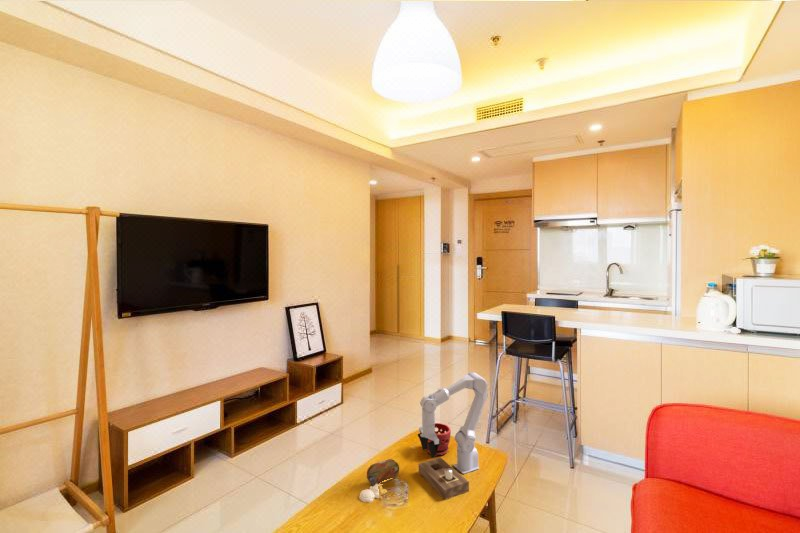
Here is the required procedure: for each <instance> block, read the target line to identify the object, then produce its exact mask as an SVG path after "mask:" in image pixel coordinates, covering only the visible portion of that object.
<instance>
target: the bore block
mask: <svg viewBox="0 0 800 533" xmlns="http://www.w3.org/2000/svg"><path fill="white" fill-rule="evenodd" d="M446 468H450V469H452V478H453V480H452V481H449V482H447V481H446V480H445V469H446ZM418 473H419V474H420V476H421V477H422V478H423V479H424V480H425V481H426V482H427V483H428V484H429V485H430V486H431V487H432V488H433V489H434V490H435V491H436V492H437V493H438V494H439V495H440V497H442V498H443V500H448V499H451V498H454V497H457V496H459V495H463V494H465V493H467V492H469V491H470V481H468V480H467V479H466V477H464V476H462V474H460V472H458V471H457V469H455V467H452V466H451V465H450V464H449V463H447V462H446V461H445V460H444V459H443V458H442V457H437V458H432V459H430V460H427V461H424V462H421V463H418Z"/></svg>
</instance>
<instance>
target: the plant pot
mask: <svg viewBox="0 0 800 533" xmlns="http://www.w3.org/2000/svg"><path fill="white" fill-rule="evenodd" d="M435 429H437V431H436V430H435V433H436V436H437V438H438V439H439V441H440V445H439V447H438V449H437V453H436V456H444V455H446V454H447V453H448V451H449V444H450V442H451V427H449V425H446V424H444V423H440V422H435ZM428 442H432V440H430V439H428ZM426 451H427V453H429V454H430V448H429V445H428V447H427V449H426Z"/></svg>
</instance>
